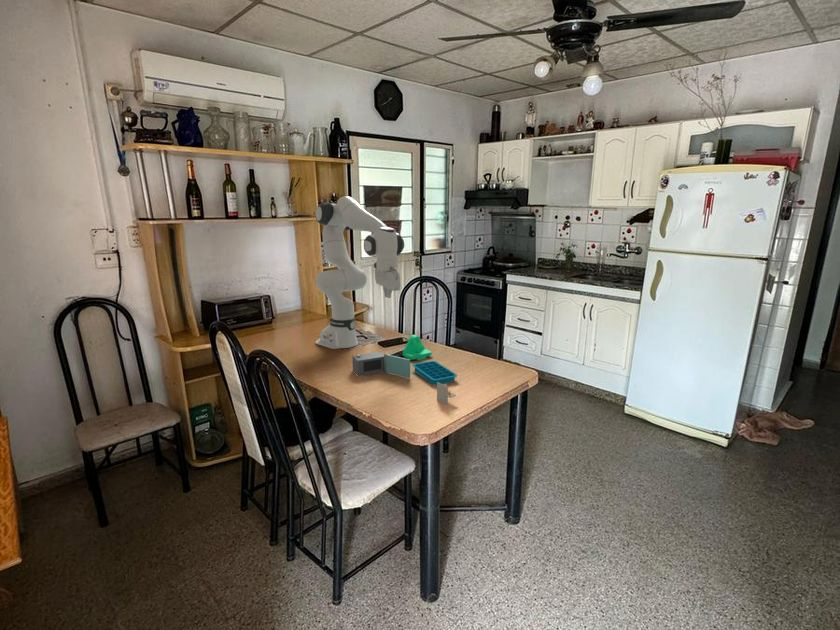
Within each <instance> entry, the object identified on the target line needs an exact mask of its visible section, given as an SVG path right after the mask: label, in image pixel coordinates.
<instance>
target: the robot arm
mask: <svg viewBox="0 0 840 630" xmlns="http://www.w3.org/2000/svg"><path fill="white" fill-rule="evenodd" d="M314 214H315V215H314V217H315V220H316V222H317V223H318V224H320V225H322V226H323V228H322V244H323V249H324V254H325V255H324V256H325V259H326V260H327V262H328V263H329V264H330V265H332V266H335V267H336V268H337V269H330V270H325V271H321V272H319V273H318V274H317V276H316V278H315V285H316V287H317V288H318V290H319V291H320V292H321V293H323V294H324V295H325V296H326V297H327V298H328V300H329V301H330V306H331V316H332V317H330V318H329V319H328V320H327V322H330V323H329V325H327V326H326V327H325V328H323V329H322V330H321V331H320V335H319V338H318V339H316V341H315V344H316V345H318V346H319V345H320V346H322V347H325V348H328V349H332V350H337V349H348V348H354V347H356V346H358V344H359V341H358V338H357V334H356V317H355V305H354V302H353V300H352V299H350V298H349V297H345V296H344V295H343V292H348V291H350V292H351V291H356V290H360V289H363V288H364V287H365V286H366V285H367V280H368V278H367V274H366V272H365V271H364V270H363V269H361V268H359V267H358V266H357V265H356V264H355V263H354V262H353V260H352V259H351V258H350V256H349V252H348V247H347V244H346V240H345V236H344V231H350V230H353V231H357V232H358V231H359V232H369V233H371V234H369V235H367V236H366V237H365V238H364V241H363V249H364V252H365V253H366V254H367V255H368V256H369V257H376V261H375V262H374V263H373V268H374V281H375V283H376V285H379V286H381V287H382V289H383V293H384V298H387V299H391V298H392V293H393V292H397V291H400V290H401V275H400V272H399V271H398V269H399V268H398V267H399V266H398V265H399V264H398V263H399V262H398V261H399V260H398V256H399V255H400V254H401V253H402V252H403V251H404V248H405V241H404V240H405V239H404V238H403V237H402V235H400V234H399V233H398V232H397V231H396V229H395V228H392V227H388V226H387V224H385V223H384V222H383V221H382V220H380V219H379V218H377V217H376V216H375V215H373V214H371V213H370V212H368V210H365V209H364V208H363V206H362V205H361V204H360V203H359V202H358V201H356V200H355V199H354V198H353V197H351V196H347V195H345V196H342V197H340V198H338V200H337V201H336V203H330V202H324V203H323V202H322V203H320V204H318V205H317V206H316V208H315V213H314Z"/></svg>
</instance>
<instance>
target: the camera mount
mask: <svg viewBox="0 0 840 630" xmlns="http://www.w3.org/2000/svg"><path fill="white" fill-rule="evenodd" d="M403 348H404V349H403V351H402V356H403V357H404V358H406V359H410V361H411V360H417V361H421V360H426V359H427V357H431V356H432V351H431V350H429V349H426V348H425V346H424V344H423V342H422V339H421V337H420V336H418V335H416V334H412V335H410V337H409V339H408V340H407V343H406V345H405V346H404V347H403Z"/></svg>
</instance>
